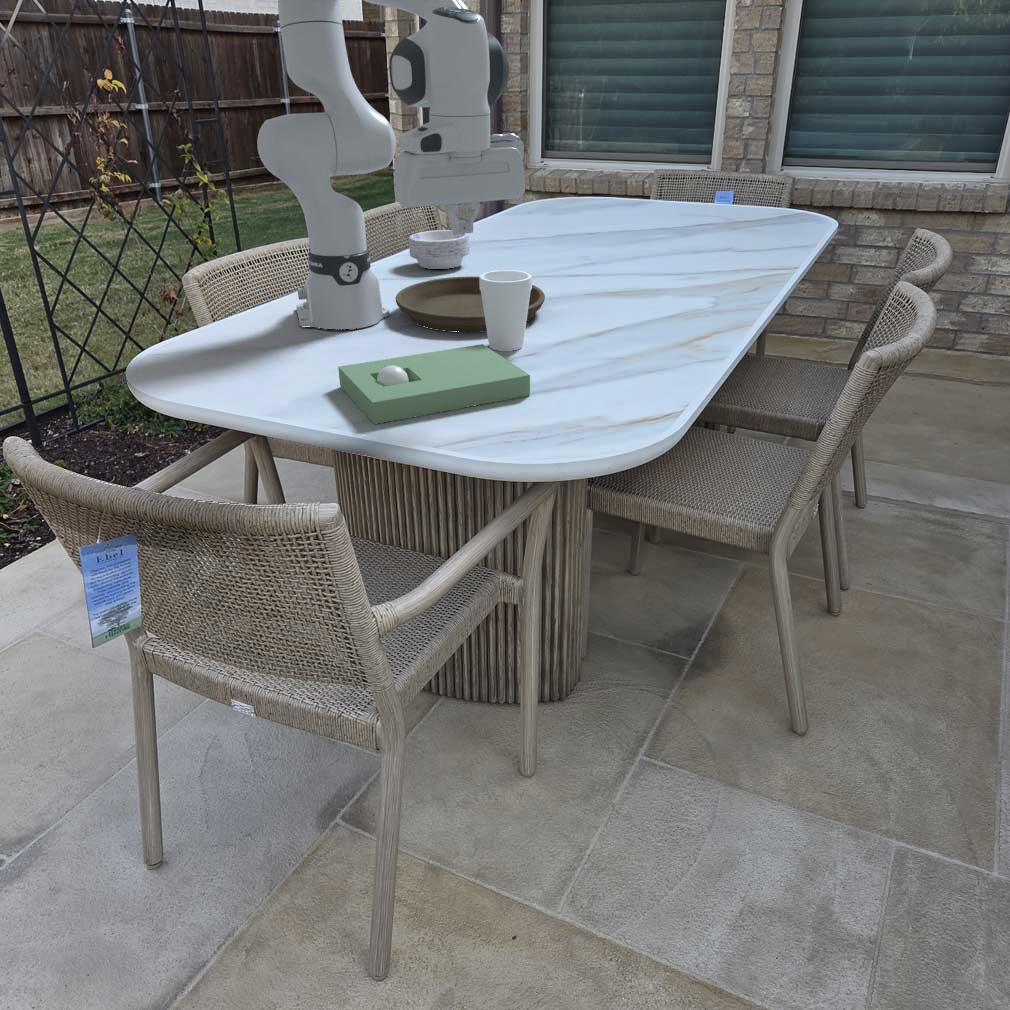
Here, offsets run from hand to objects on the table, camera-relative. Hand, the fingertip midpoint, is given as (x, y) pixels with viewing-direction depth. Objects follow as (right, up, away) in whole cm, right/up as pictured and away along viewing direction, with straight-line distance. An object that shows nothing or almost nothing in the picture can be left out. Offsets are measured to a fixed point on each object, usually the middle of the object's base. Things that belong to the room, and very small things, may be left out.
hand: (462, 233), depth 132 cm
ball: (-11, -22, +3) cm, 25 cm away
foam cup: (+7, -12, +28) cm, 32 cm away
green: (-5, -23, +8) cm, 25 cm away
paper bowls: (-10, +19, +87) cm, 90 cm away
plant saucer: (-1, -2, +48) cm, 48 cm away
